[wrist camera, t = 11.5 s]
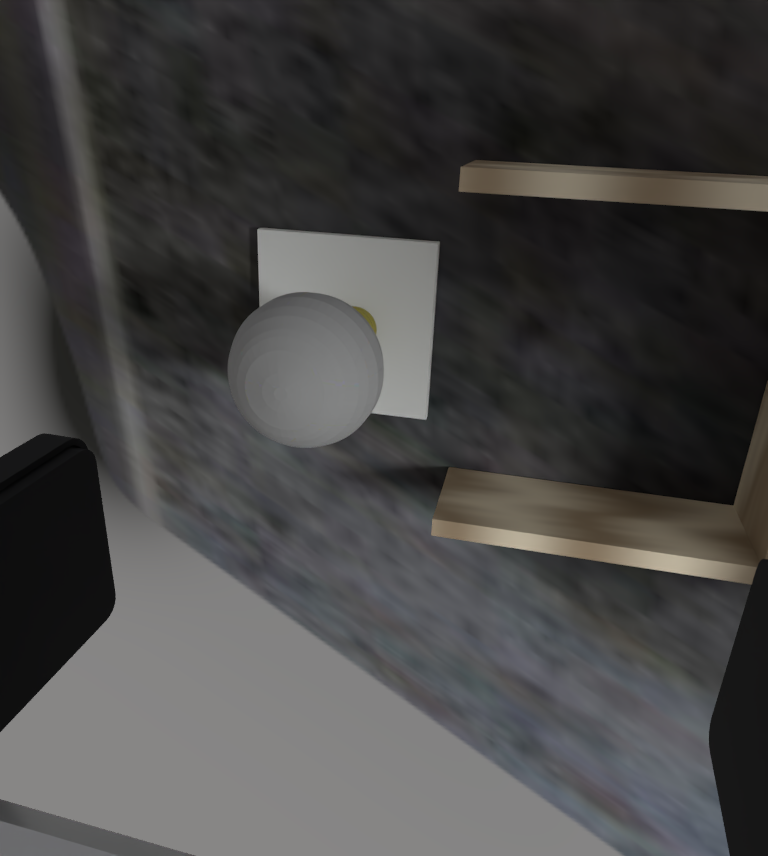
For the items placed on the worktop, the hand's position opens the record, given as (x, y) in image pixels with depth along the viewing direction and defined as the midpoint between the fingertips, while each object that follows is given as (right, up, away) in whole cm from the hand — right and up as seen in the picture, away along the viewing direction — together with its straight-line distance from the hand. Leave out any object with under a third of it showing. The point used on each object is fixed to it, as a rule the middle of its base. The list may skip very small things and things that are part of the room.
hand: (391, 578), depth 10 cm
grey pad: (-2, +7, +23) cm, 24 cm away
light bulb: (-1, +7, +22) cm, 23 cm away
